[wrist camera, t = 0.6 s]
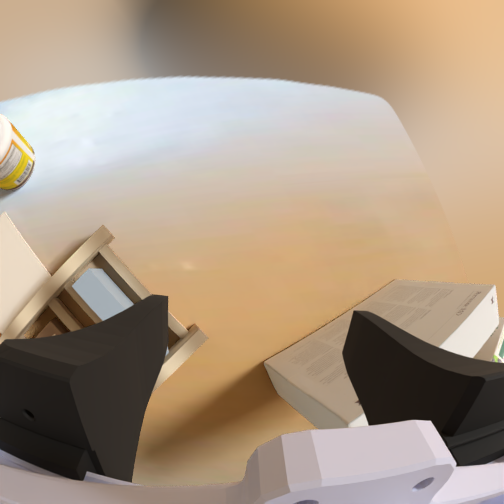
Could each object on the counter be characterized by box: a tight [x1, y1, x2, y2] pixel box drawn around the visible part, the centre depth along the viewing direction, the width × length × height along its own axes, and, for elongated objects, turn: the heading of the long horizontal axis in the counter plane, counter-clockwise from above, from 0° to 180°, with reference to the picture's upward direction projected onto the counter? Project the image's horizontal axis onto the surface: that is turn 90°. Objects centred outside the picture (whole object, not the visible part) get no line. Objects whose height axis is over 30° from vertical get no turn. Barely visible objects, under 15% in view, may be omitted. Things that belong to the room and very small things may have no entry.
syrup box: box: [473, 317, 504, 363], centre depth 34 cm, size 6×6×14 cm
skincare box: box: [264, 279, 499, 429], centre depth 29 cm, size 21×6×16 cm, turn 115°
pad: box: [0, 212, 52, 335], centre depth 25 cm, size 9×9×1 cm
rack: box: [0, 225, 208, 393], centre depth 27 cm, size 16×14×3 cm
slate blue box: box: [72, 268, 169, 356], centre depth 26 cm, size 2×9×7 cm, turn 44°
